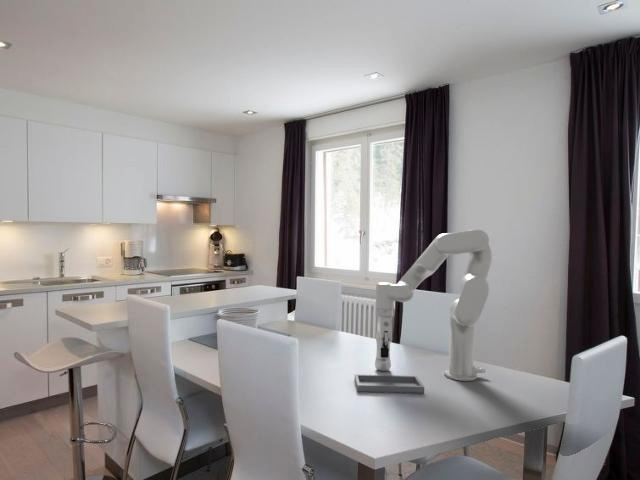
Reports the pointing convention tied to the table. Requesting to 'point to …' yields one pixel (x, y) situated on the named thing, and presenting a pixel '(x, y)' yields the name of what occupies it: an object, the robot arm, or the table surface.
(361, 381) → the grey rectangular tray
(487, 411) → the table surface
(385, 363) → the plastic bottle
